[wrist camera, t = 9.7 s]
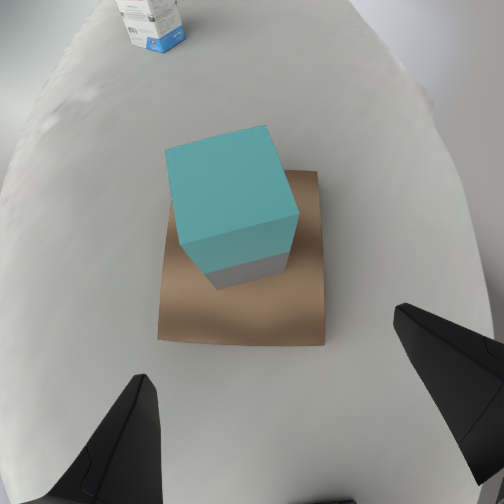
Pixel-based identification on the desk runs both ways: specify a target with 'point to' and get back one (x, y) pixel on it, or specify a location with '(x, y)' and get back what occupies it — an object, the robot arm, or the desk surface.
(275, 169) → the teal tall block
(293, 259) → the walnut stand
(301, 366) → the desk surface
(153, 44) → the ink box
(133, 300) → the desk surface
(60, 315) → the desk surface
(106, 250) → the desk surface
